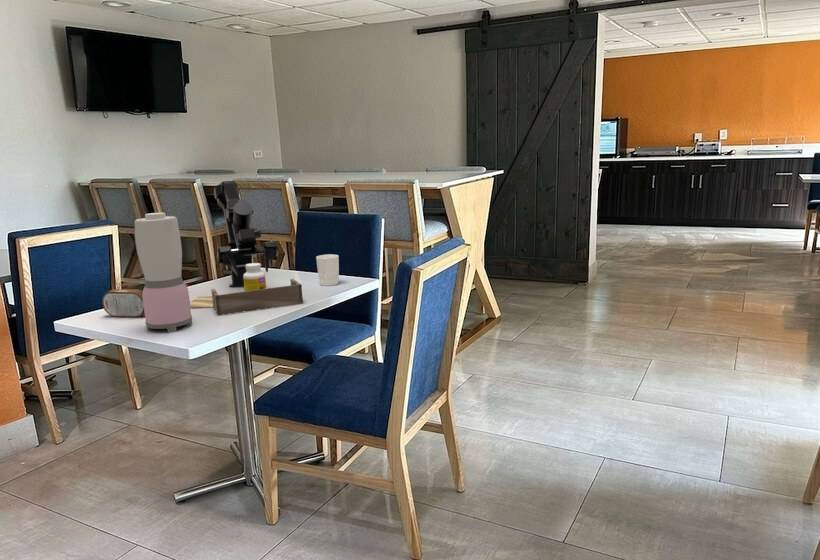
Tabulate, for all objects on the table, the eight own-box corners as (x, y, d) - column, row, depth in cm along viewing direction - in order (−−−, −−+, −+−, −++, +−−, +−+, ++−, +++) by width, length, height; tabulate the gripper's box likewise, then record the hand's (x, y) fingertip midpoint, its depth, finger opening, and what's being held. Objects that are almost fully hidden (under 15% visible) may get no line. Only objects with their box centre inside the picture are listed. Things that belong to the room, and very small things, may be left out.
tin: (152, 315, 189) (149, 288, 187) (146, 318, 186) (142, 291, 184) (109, 314, 192) (105, 288, 190) (102, 317, 189) (98, 290, 187)
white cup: (335, 286, 217) (333, 258, 215) (314, 286, 219) (312, 258, 217) (343, 281, 224) (341, 254, 222) (323, 281, 226) (321, 254, 224)
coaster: (198, 297, 209) (198, 296, 209) (239, 296, 208) (239, 295, 208) (181, 308, 195) (181, 307, 195) (225, 307, 194) (225, 306, 194)
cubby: (213, 307, 195) (211, 289, 193) (294, 296, 205) (293, 278, 203) (217, 315, 185) (215, 296, 184) (303, 303, 195) (301, 284, 194)
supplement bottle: (262, 306, 193) (258, 266, 190) (242, 306, 194) (238, 266, 192) (270, 301, 199) (267, 262, 197) (251, 301, 201) (248, 262, 198)
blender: (202, 323, 177) (189, 211, 171) (166, 335, 167) (151, 216, 160) (165, 317, 185) (151, 210, 178) (129, 328, 175) (113, 215, 168)
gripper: (214, 221, 195) (223, 261, 187) (273, 216, 202) (284, 254, 194) (213, 243, 203) (222, 282, 196) (270, 238, 211) (281, 275, 203)
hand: (252, 273), depth 197 cm, fingers open, 9 cm apart
